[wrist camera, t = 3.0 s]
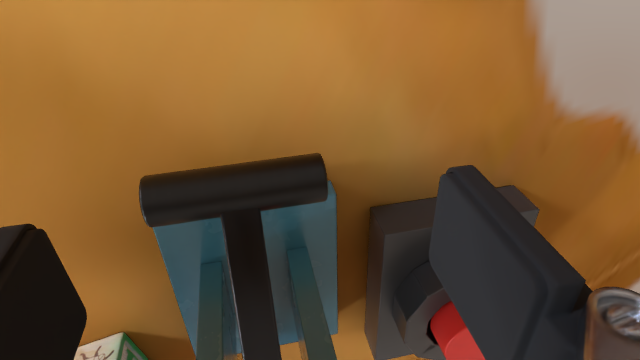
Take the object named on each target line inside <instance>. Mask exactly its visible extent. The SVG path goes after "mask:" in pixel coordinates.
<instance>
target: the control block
mask: <svg viewBox="0 0 640 360" xmlns="http://www.w3.org/2000/svg"><path fill="white" fill-rule="evenodd" d="M496 189H497V190H498V191H499V192H500V193H501V194H502V195H503V196H504V197H505V198H506V199H507V200H508V201H509V202H510V203H511V204H512V205H513V206H514V207H515V209H516V210H517V211H518V212H519V213H520V214H521V215H522V216H523V217H524V218H525V219H526V220H527V221H528V222H529V223H530V224H531V225H532V226H533V227H534V225H535V222H536V219H537V216H538V213H539V208H538V207H536V206H535V205H534V204H533V203H532V202H531V201H530V200H529V199H528V198H527V197H526V196H525V195H523V194H522V193H521V192H520V191H519V190H518V189H517V188H516V187H515V186H514V185H512V186H505V187H499V188H496ZM436 202H437V197H435V198H428V199H422V200H416V201H409V202H403V203H396V204H390V205H383V206H377V207H371V208H370V227H369V248H368V270H367V291H366V313H365V334H366V337H367V340H368V343H369V346H370V349H371V351H372V354H373V357H374V360H387V359H392V358H397V357H401V356H406V355H410V354H415V355H416V356H417V357H419V358H426V359H432V360H446V358H445V356H444V354H443V352H442V350H441V348H440V346H439V344H438V343H437V341H436V339H435V337H434V335H433V333H432V331H431V328H430V321H431V318H432V317H433V316H434V315H435V313H436V312H437V311H438V310H439V309H440V308H441V307H442V306H443V305H445V304H446V303H448V302H450V301H451V299H450V297H449V296H448V294H447V292H446V291H445V289H444V287H443V285H442V284H441V282H440V280H439V278H438V277H437V275H436V273H435V272H434V270H433V268H432V266H431V264H430V260H429V247H430V241H431V234H432V228H433V221H434V215H435V208H436Z"/></svg>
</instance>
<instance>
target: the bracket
mask: <svg viewBox="0 0 640 360" xmlns="http://www.w3.org/2000/svg"><path fill="white" fill-rule="evenodd" d="M261 218H262V225H263V232H264V239H265V246H266V253H267V260H268V267H269V274H270V281H271V289H272V296H273V303H274V310H275V317H276V324H277V331H278V338H279V345H283V344H288V343H293V342H299V348H300V353H301V358H302V360H337V358H336V354H335V350H334V347H333V343H332V339H331V335H333V334H337V333H338V294H337V202H336V192H335V190H334V188H333V185H332V183H331V181H328V197H327V200H326V201H324V202H318V203H312V204H305V205H298V206H292V207H285V208H279V209H272V210H265V211H261ZM153 230H154V233H155V236H156V239H157V242H158V245H159V248H160V251H161V254H162V257H163V260H164V263H165V266H166V269H167V272H168V275H169V278H170V281H171V284H172V287H173V290H174V293H175V296H176V299H177V302H178V305H179V308H180V311H181V314H182V317H183V320H184V323H185V326H186V329H187V332H188V335H189V338H190V341H191V344H192V347H193V350H194V353H195V356H196V360H237V354H239V353H242V349H241V343H240V337H239V330H238V324H237V318H236V311H235V305H234V299H233V292H232V286H231V280H230V273H229V267H228V261H227V254H226V248H225V242H224V235H223V229H222V223H221V217H219V218H212V219H206V220H199V221H192V222H186V223H179V224H172V225H166V226H159V227H153Z"/></svg>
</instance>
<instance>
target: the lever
mask: <svg viewBox="0 0 640 360" xmlns="http://www.w3.org/2000/svg"><path fill="white" fill-rule="evenodd" d="M327 197H328V181H327V174H326V168H325V164H324V161H323V158H322V156H321V154H319V153H315V154H307V155H299V156H292V157H284V158H277V159H269V160H261V161H254V162H246V163H239V164H231V165H224V166H216V167H208V168H201V169H193V170H186V171H178V172H170V173H163V174H155V175H148V176H144V177H142V178H141V180H140V185H139V201H140V207H141V212H142V215H143V218H144V220H145V222H146V224H147V225H148V226H149V227H152V228H153V227H159V226H166V225H172V224H179V223H186V222H192V221H199V220H206V219H212V218H219V217H221V223H222V229H223V235H224V242H225V248H226V254H227V261H228V267H229V273H230V280H231V286H232V292H233V299H234V305H235V311H236V318H237V324H238V330H239V337H240V343H241V349H242V356H243V360H282V359H281V352H280V345H279V338H278V331H277V324H276V317H275V310H274V303H273V296H272V289H271V281H270V274H269V267H268V260H267V253H266V246H265V239H264V232H263V225H262V218H261V211H265V210H272V209H279V208H285V207H292V206H298V205H305V204H312V203H318V202H324V201H326V200H327Z"/></svg>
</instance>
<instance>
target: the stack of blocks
mask: <svg viewBox="0 0 640 360" xmlns="http://www.w3.org/2000/svg"><path fill="white" fill-rule="evenodd" d="M74 360H148V358H147V357H146V356H145V355H144V354H143V353H142V352H141V350H140V349H139V348H138V347H137V346H136V345H135V344H134V343H133V342H132V340H131V339H130V338H129V337H128V336H127V335H126V334H125V333H124V332H122V333H118V334H115V335H112V336H109V337H107V338H104V339H101V340H98V341H95V342H92V343H89V344H87V345H83V346H80V347H78V349H77V351H76V354H75V357H74Z"/></svg>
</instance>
